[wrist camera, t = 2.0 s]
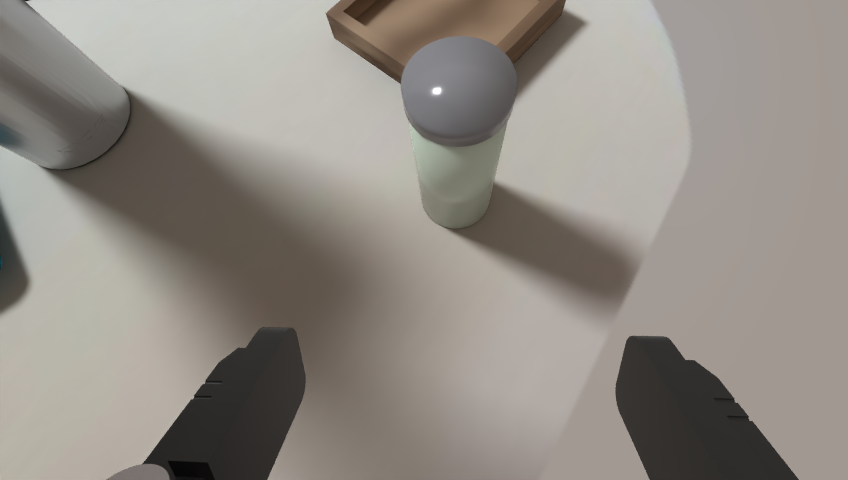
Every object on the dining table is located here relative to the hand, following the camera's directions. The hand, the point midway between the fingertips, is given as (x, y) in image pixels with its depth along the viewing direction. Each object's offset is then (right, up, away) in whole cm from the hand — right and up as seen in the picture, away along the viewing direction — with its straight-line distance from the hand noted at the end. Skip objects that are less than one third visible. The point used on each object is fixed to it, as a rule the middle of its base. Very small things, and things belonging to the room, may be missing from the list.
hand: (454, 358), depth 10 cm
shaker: (+2, +6, +19) cm, 21 cm away
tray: (+1, +22, +25) cm, 33 cm away
